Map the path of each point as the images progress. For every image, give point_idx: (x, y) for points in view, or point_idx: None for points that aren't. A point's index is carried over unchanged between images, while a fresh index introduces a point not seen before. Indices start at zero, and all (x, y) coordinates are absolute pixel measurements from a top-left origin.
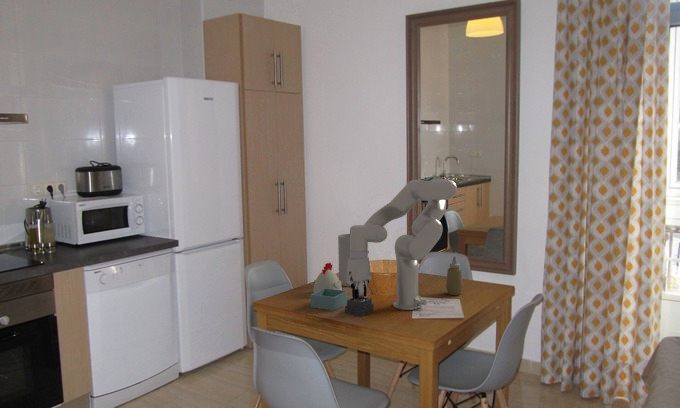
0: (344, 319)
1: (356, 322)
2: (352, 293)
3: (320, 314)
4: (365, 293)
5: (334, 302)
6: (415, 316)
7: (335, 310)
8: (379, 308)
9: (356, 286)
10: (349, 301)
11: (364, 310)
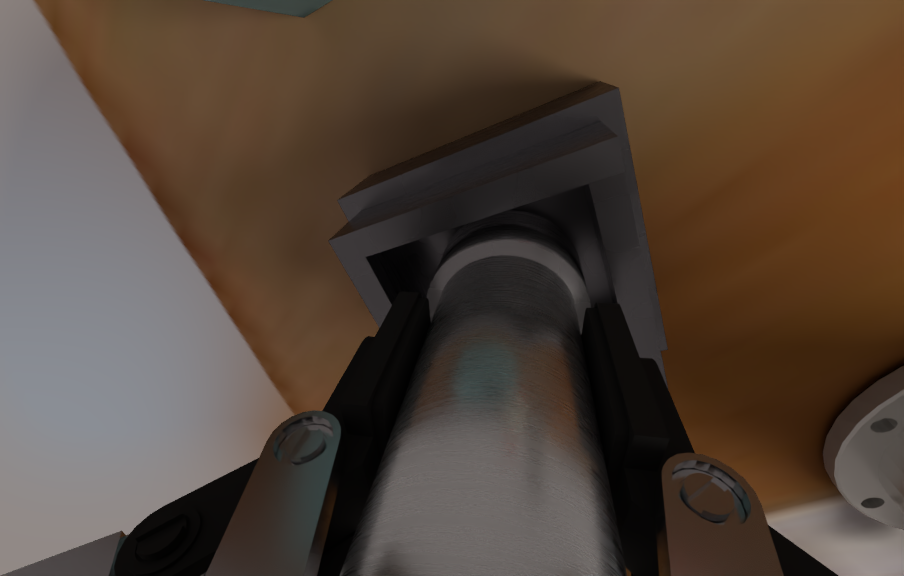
0: (280, 295)
1: (324, 386)
2: (354, 360)
3: (115, 7)
4: None
5: (230, 4)
6: None
7: (321, 4)
8: (756, 297)
9: (329, 569)
10: (353, 270)
11: None
